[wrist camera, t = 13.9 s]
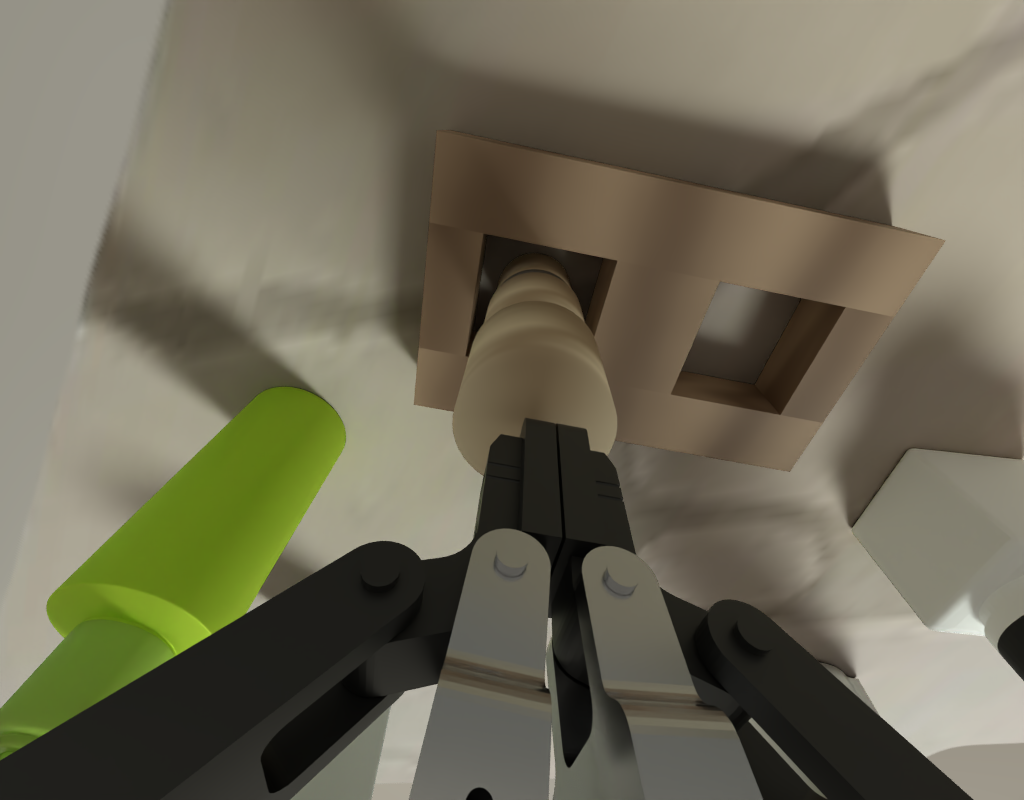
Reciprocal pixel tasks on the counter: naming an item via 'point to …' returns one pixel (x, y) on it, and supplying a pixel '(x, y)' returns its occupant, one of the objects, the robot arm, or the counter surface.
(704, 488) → the counter surface
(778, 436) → the board
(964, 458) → the medicine bottle
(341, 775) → the skincare box
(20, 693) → the soap dispenser
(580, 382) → the peg
